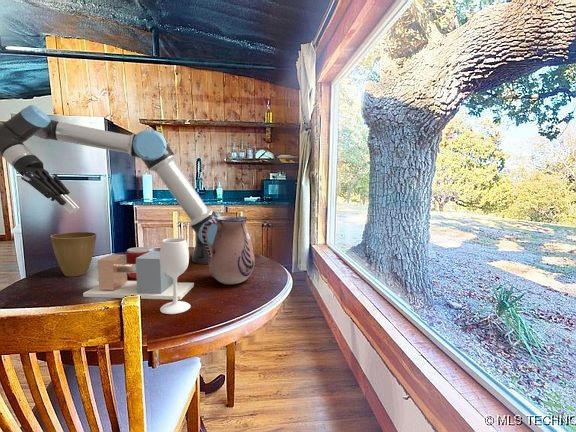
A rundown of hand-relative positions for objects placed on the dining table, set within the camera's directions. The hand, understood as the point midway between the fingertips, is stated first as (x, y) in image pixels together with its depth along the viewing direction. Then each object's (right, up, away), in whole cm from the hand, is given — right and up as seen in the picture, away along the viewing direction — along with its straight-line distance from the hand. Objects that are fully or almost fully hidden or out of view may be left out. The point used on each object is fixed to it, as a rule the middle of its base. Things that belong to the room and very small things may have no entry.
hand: (74, 210), depth 105 cm
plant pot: (-10, -25, +15) cm, 31 cm away
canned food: (+15, -26, +15) cm, 34 cm away
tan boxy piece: (+22, -26, -2) cm, 34 cm away
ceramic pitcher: (+52, -28, +10) cm, 60 cm away
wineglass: (+41, -30, -14) cm, 53 cm away
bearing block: (+25, -28, -1) cm, 38 cm away
